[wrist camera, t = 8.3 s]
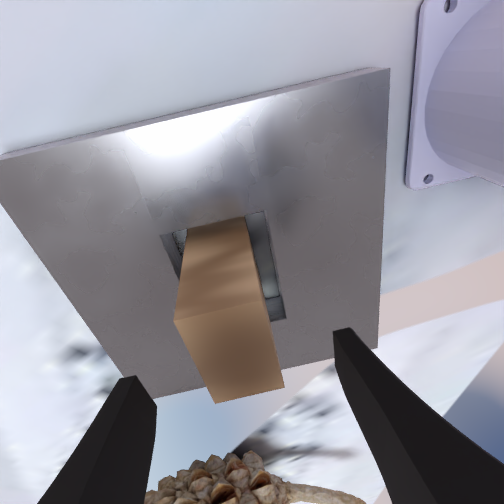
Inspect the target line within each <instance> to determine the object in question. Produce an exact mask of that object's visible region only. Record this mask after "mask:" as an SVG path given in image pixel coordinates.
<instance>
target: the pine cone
mask: <svg viewBox="0 0 504 504" xmlns="http://www.w3.org/2000/svg"><path fill="white" fill-rule="evenodd" d="M299 501H304V502H311V503H317V504H366V503H365V502H364V501H363V500H361V499H360V498H356V497H355V496H353V495H350V494H346V493H344V492H342V491H334V490H330V489H326V488H322V487H317V486H310V485H305V484H292V483H290V482H289V481H287V482H283V481H282V478H281V479H280V477H278V476H275V475H274V474H272V475H271V474H270V473H269V472H266V471H265V470H264V465H263V461H262V458H261V457H260V456H259V455H257V454H256V453H254V452H253V451H252V450H250V451H248V452H246V453H245V454H244V455H243V458H242V460H240V459H239V458H238V457H237V456H236V455H235V454H232V453H227V455H226V456H225V458H224V459H223V460H222V459H221V458H220V457H219V456H215V455H211V456H210V457H209V459H208V460H207V461H206V463H205V462H203V461H199V460H195V461H194V462H193V463H192V465H191V467H190V468H189V470H180V471H177V477H176V478H174V477H172V476H170V475H169V476H168V477H165V478H163V479H162V480H160V481H159V483H158V491H153V490H150V491H148V492H146V495H145V500H144V504H290V503H295V502H299Z"/></svg>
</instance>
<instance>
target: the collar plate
mask: <svg viewBox="0 0 504 504" xmlns="http://www.w3.org/2000/svg"><path fill="white" fill-rule="evenodd" d="M389 86H390V68H364V69H360V70H356V71H351V72H347V73H343V74H339V75H335V76H330V77H326V78H322V79H318V80H313V81H309V82H305V83H301V84H296V85H292V86H288V87H284V88H280V89H275V90H271V91H267V92H263V93H258V94H254V95H250V96H246V97H241V98H237V99H233V100H229V101H225V102H220V103H216V104H212V105H208V106H203V107H199V108H195V109H191V110H186V111H182V112H178V113H174V114H170V115H165V116H161V117H157V118H153V119H148V120H144V121H140V122H136V123H131V124H127V125H123V126H119V127H115V128H110V129H106V130H102V131H98V132H93V133H89V134H85V135H81V136H76V137H72V138H68V139H64V140H60V141H55V142H51V143H47V144H43V145H38V146H34V147H30V148H26V149H21V150H17V151H13V152H9V153H5V154H2V155H0V203H1V205H2V206H3V208H4V209H5V210H6V212H7V213H8V215H9V216H10V217H11V219H12V220H13V222H14V223H15V224H16V226H17V227H18V229H19V230H20V232H21V233H22V234H23V236H24V237H25V239H26V240H27V241H28V243H29V244H30V246H31V247H32V248H33V250H34V251H35V253H36V254H37V255H38V257H39V258H40V260H41V261H42V262H43V264H44V265H45V267H46V268H47V269H48V271H49V272H50V274H51V275H52V276H53V278H54V279H55V281H56V282H57V283H58V285H59V286H60V288H61V289H62V291H63V292H64V293H65V295H66V296H67V298H68V299H69V300H70V302H71V303H72V305H73V306H74V307H75V309H76V310H77V312H78V313H79V314H80V316H81V317H82V319H83V320H84V321H85V323H86V324H87V326H88V327H89V328H90V330H91V331H92V333H93V334H94V335H95V337H96V338H97V340H98V341H99V342H100V344H101V345H102V347H103V348H104V350H105V351H106V352H107V354H108V355H109V357H110V358H111V359H112V361H113V362H114V364H115V365H116V366H117V368H118V369H119V371H120V372H121V373H122V375H123V376H124V378H125V377H129V376H133V375H136V376H137V377H138V379H139V380H140V382H141V383H142V385H143V386H144V388H145V389H146V391H147V392H148V394H149V395H150V397H151V398H152V399H155V398H159V397H163V396H168V395H172V394H177V393H181V392H185V391H190V390H194V389H198V388H203V387H206V385H205V383H204V381H203V379H202V377H201V375H200V373H199V371H198V369H197V367H196V365H195V363H194V361H193V359H192V357H191V355H190V353H189V351H188V349H187V347H186V345H185V343H184V341H183V339H182V337H181V335H180V333H179V331H178V329H177V327H176V325H175V323H174V321H173V320H174V313H175V307H176V300H177V294H178V287H179V281H180V275H181V268H182V262H183V260H182V258H181V255H180V253H179V250H178V248H177V245H176V243H175V240H174V238H173V235H172V233H171V232H175V231H180V230H184V229H188V228H192V227H197V226H201V225H205V224H210V223H214V222H218V221H223V220H227V219H231V218H236V217H240V216H244V215H248V214H253V213H257V212H261V211H264V216H265V221H266V226H267V231H268V236H269V241H270V246H271V252H272V257H273V262H274V267H275V272H276V277H277V282H278V287H279V293H280V296H279V297H275V298H270V299H266V300H265V302H266V306H267V311H268V315H269V320H270V324H271V328H272V333H273V337H274V342H275V346H276V351H277V355H278V360H279V364H280V369H281V370H282V369H287V368H291V367H295V366H300V365H304V364H309V363H313V362H317V361H322V360H326V359H330V358H334V344H333V331H335V330H339V329H344V328H348V327H350V328H352V329H353V330H354V331H355V333H356V334H357V335H358V336H359V337H360V339H361V340H362V341H363V342H364V343H365V344H366V345H367V346H368V348H369V349H370V350H371V349H375V348H377V346H378V324H379V302H380V281H381V259H382V238H383V216H384V194H385V173H386V151H387V129H388V108H389Z"/></svg>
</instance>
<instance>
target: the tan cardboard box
mask: <svg viewBox="0 0 504 504" xmlns="http://www.w3.org/2000/svg"><path fill="white" fill-rule="evenodd" d="M173 321H174V323H175V325H176V327H177V329H178V331H179V333H180V335H181V337H182V339H183V341H184V343H185V345H186V347H187V349H188V351H189V353H190V355H191V357H192V359H193V361H194V363H195V365H196V367H197V369H198V371H199V373H200V375H201V377H202V379H203V381H204V383H205V385H206V387H207V389H208V391H209V393H210V394H211V397H212V398H213V401H214V402H215V404H216V403H221V402H225V401H229V400H234V399H237V398H242V397H246V396H251V395H255V394H259V393H263V392H268V391H272V390H276V389H281V388H284V382H283V377H282V373H281V369H280V364H279V360H278V355H277V351H276V346H275V342H274V337H273V333H272V328H271V324H270V320H269V315H268V311H267V306H266V302H265V297H264V293H263V288H262V284H261V280H260V276H259V272H258V268H257V264H256V260H255V256H254V252H253V248H252V244H251V241H250V237H249V233H248V229H247V225H246V221H245V217H244V216H240V217H236V218H231V219H227V220H223V221H218V222H214V223H210V224H205V225H201V226H197V227H192V228H188V229H187V236H186V242H185V249H184V255H183V262H182V268H181V275H180V281H179V287H178V294H177V300H176V307H175V313H174V320H173Z"/></svg>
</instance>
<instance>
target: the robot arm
mask: <svg viewBox="0 0 504 504" xmlns="http://www.w3.org/2000/svg"><path fill="white" fill-rule="evenodd" d="M445 1H446V0H424V2H423V3H422V5H421V9H420V15H419V27H418V39H417V50H416V62H415V74H414V86H413V98H412V109H411V121H410V133H409V145H408V157H407V169H406V180H405V182H406V185H407V187H409V188H410V189H412V190H419V189H424V188H428V187H432V186H436V185H441V184H445V183H449V182H454V181H458V180H462V179H467V178H471V177H475V176H478V177H481V178H483V179H485V180H488V181H490V182H493V183H495V184H498V185H500V186H502V187H504V0H450V4H451V5H450V8H449V10H448V12H447V13H446V12H445V11H444V4H445ZM428 174H429V176H428V178H427V179H426V180H425V181H423V179H424V177H425V176H426V175H428ZM333 344H334V358H335V368H336V371H337V373H338V376H339V379H340V382H341V385H342V388H343V391H344V393H345V396H346V398H347V400H348V403H349V405H350V407H351V409H352V411H353V413H354V416H355V418H356V420H357V422H358V424H359V426H360V428H361V431H362V433H363V435H364V437H365V439H366V441H367V443H368V446H369V448H370V450H371V452H372V454H373V456H374V458H375V461H376V463H377V465H378V468H379V470H380V472H381V475H382V477H383V480H384V482H385V485H386V488H387V490H388V493H389V496H390V498H391V501H392V504H504V464H503V463H502V462H500V461H499V460H498V459H496V458H495V457H493V456H492V455H490V454H489V453H488V452H486V451H485V450H483V449H482V448H481V447H480V446H478V445H477V444H476V443H474V442H473V441H472V440H470V439H469V438H468V437H466V436H465V435H464V434H463V433H461V432H460V431H459V430H457V429H456V428H455V427H453V426H452V425H451V424H450V423H449V422H447V421H446V420H445V419H444V418H443V417H441V416H440V415H439V414H438V413H437V412H435V411H434V410H433V409H432V408H431V407H430V406H428V405H427V404H426V403H425V402H424V401H423V400H422V399H420V398H419V397H418V396H417V395H416V394H415V393H414V392H413V391H412V390H410V389H409V388H408V387H407V386H406V385H405V384H404V383H403V382H402V381H401V380H400V379H399V378H398V377H397V376H396V375H395V374H394V373H393V372H392V371H391V370H390V369H389V368H388V367H387V366H386V365H385V364H384V363H383V362H382V361H381V360H380V359H379V358H378V357H377V356H376V355H375V354H374V353H373V352H372V351H371V350H370V349H369V348H368V346H367V345H366V344H365V343H364V342H363V341H362V340H361V339H360V337H359V336H358V335H357V334H356V333H355V331H354V330H353V329H352V328H350V327H348V328H344V329H339V330H335V331H333ZM156 416H157V406H156V404H155V402H154V401H153V399H152V398H151V397H150V395H149V394H148V392H147V391H146V389H145V388H144V386H143V385H142V383H141V382H140V380H139V379H138V377H137V376H136V375H133V376H129V377H125V378H120V379H119V380H118V382H117V383H116V385H115V387H114V388H113V390H112V391H111V393H110V395H109V396H108V398H107V399H106V401H105V403H104V404H103V406H102V408H101V409H100V411H99V412H98V414H97V416H96V417H95V419H94V421H93V422H92V424H91V425H90V427H89V428H88V430H87V432H86V433H85V435H84V436H83V438H82V439H81V441H80V443H79V444H78V446H77V447H76V449H75V450H74V452H73V453H72V455H71V456H70V458H69V459H68V461H67V462H66V464H65V465H64V467H63V468H62V469H61V471H60V472H59V474H58V475H57V477H56V478H55V480H54V481H53V483H52V484H51V485H50V487H49V488H48V490H47V491H46V492H45V494H44V495H43V496H42V498H41V499H40V501H39V502H38V503H37V504H144V500H145V495H146V489H147V483H148V477H149V471H150V466H151V460H152V453H153V448H154V442H155V434H156Z"/></svg>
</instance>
